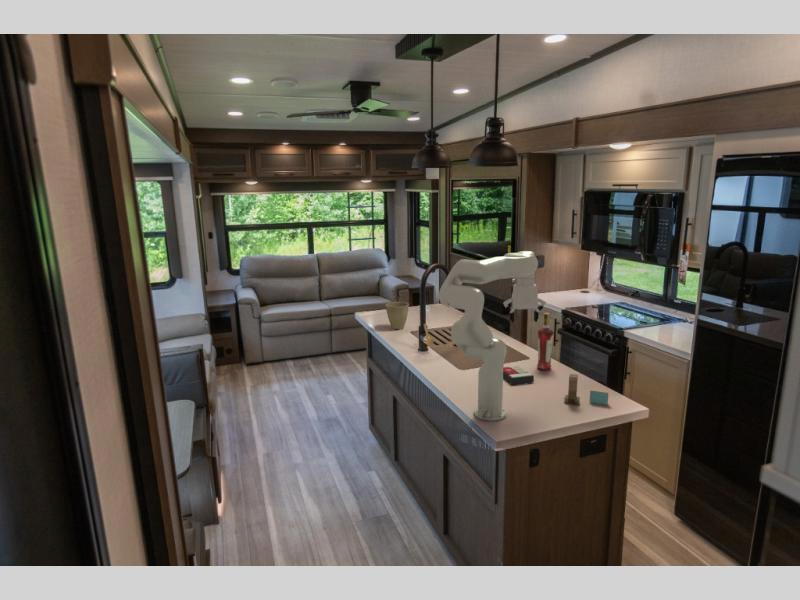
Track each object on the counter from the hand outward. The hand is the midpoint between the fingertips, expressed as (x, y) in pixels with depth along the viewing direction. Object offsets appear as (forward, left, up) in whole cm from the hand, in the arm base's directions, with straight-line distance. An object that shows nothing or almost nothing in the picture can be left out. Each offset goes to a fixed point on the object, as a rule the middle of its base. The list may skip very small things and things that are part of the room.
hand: (523, 321), depth 211 cm
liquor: (+36, -3, -33) cm, 49 cm away
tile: (+4, -31, -33) cm, 45 cm away
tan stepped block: (0, -21, -33) cm, 39 cm away
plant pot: (+73, +96, -33) cm, 125 cm away
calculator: (+18, +7, -34) cm, 38 cm away
